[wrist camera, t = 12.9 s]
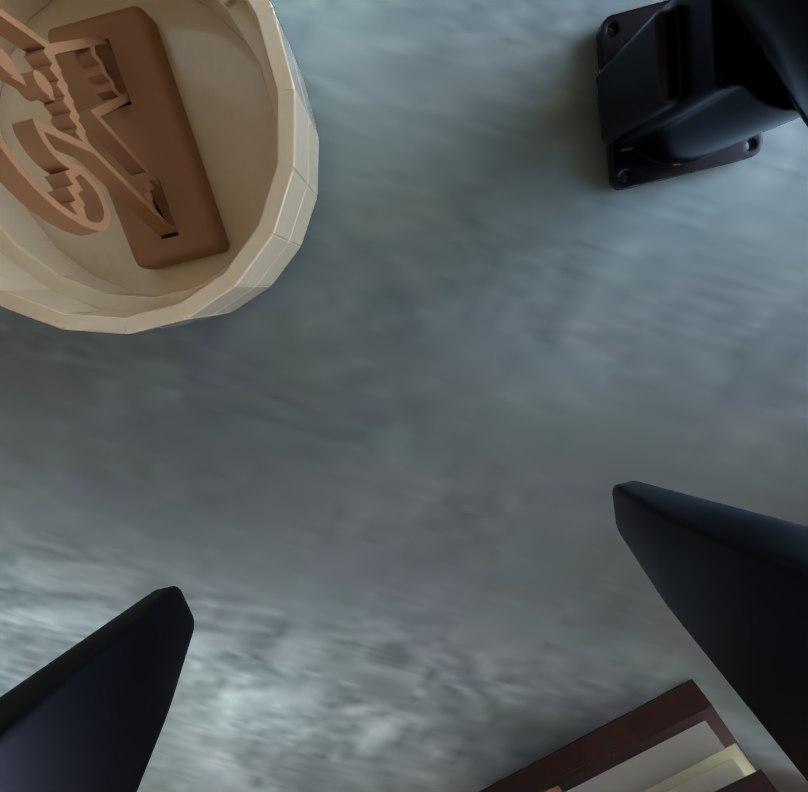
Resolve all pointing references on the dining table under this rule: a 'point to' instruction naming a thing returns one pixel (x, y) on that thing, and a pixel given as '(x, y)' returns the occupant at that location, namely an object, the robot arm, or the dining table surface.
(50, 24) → the bowl
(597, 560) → the dining table surface
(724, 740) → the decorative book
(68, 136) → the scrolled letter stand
